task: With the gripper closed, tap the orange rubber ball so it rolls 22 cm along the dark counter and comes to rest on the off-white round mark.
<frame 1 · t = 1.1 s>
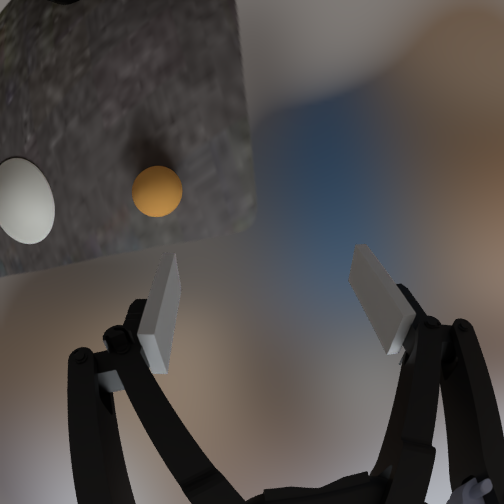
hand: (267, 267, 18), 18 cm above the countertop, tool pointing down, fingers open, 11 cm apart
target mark: (20, 202, 31), on the countertop
ball: (157, 191, 30), on the countertop
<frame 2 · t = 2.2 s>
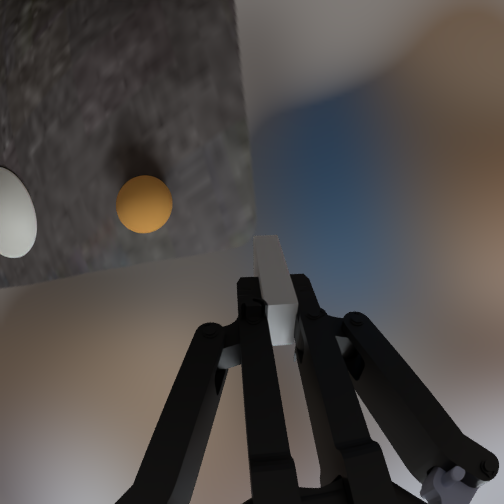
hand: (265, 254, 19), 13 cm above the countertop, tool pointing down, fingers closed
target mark: (1, 214, 28), on the countertop
ball: (144, 204, 27), on the countertop
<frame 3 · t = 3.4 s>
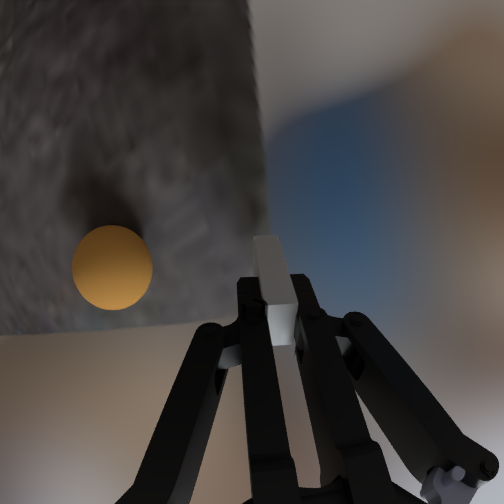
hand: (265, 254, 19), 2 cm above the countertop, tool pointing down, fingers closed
ball: (111, 267, 18), on the countertop
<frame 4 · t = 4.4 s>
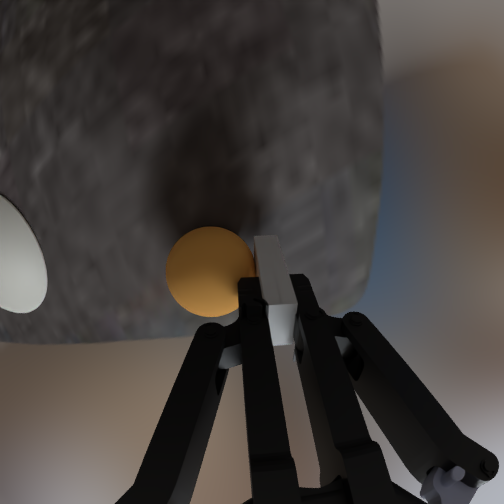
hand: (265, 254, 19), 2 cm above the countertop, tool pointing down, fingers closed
ball: (210, 271, 18), on the countertop, touching gripper
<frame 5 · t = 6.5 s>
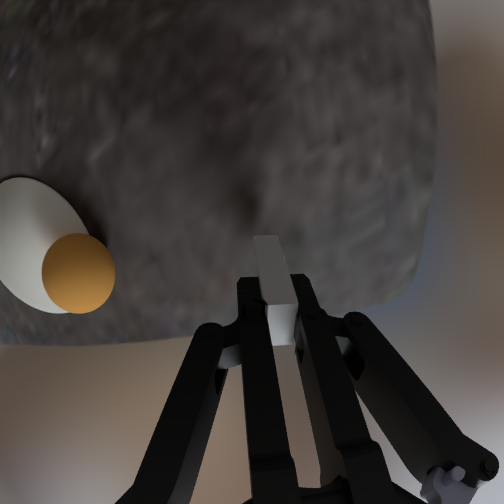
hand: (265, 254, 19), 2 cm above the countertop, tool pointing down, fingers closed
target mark: (32, 252, 20), on the countertop
ball: (77, 273, 18), on the countertop
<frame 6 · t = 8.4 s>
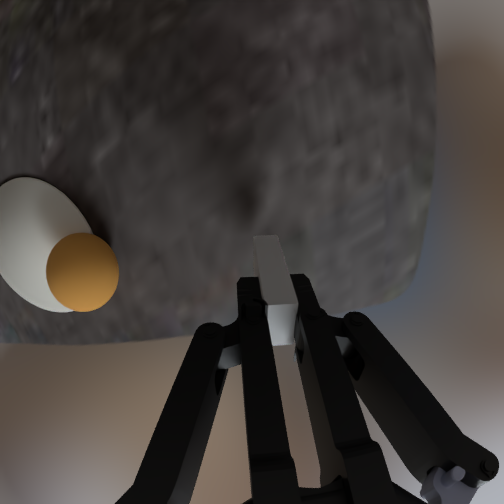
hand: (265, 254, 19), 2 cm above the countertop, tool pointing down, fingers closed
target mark: (36, 251, 20), on the countertop
ball: (82, 272, 18), on the countertop
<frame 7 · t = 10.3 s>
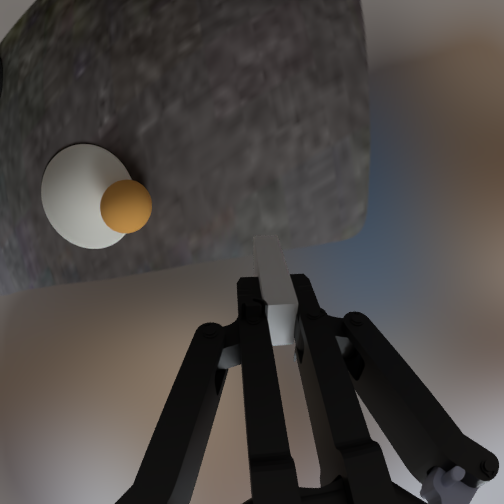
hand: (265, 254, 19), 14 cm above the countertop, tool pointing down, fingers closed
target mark: (85, 198, 30), on the countertop
ball: (125, 206, 28), on the countertop
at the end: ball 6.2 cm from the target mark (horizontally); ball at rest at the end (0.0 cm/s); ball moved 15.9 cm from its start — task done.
